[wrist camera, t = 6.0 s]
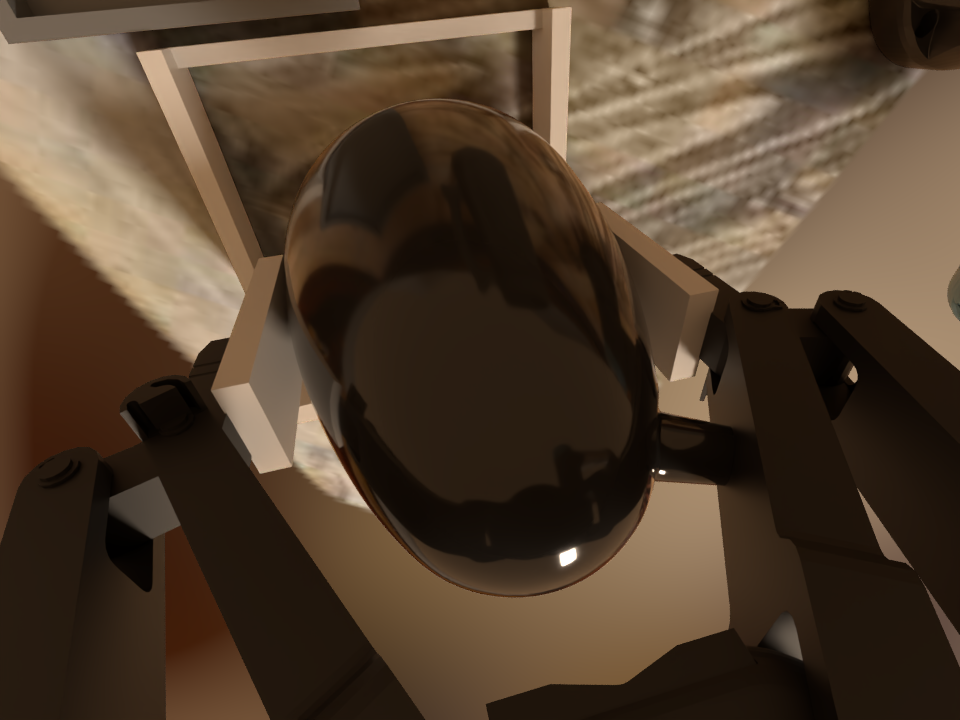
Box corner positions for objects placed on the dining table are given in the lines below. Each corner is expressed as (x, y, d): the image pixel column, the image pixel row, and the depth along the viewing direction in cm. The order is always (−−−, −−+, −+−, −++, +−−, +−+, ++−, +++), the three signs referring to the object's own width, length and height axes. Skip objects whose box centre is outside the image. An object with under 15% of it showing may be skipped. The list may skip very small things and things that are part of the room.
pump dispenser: (538, 318, 23) (737, 638, 11) (324, 340, 21) (291, 756, 9) (566, 82, 17) (1065, 241, 5) (267, 82, 15) (-47, 342, 3)
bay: (549, 7, 25) (694, 3, 15) (546, 247, 34) (636, 347, 24) (157, 48, 22) (7, 77, 12) (264, 299, 31) (230, 439, 21)
